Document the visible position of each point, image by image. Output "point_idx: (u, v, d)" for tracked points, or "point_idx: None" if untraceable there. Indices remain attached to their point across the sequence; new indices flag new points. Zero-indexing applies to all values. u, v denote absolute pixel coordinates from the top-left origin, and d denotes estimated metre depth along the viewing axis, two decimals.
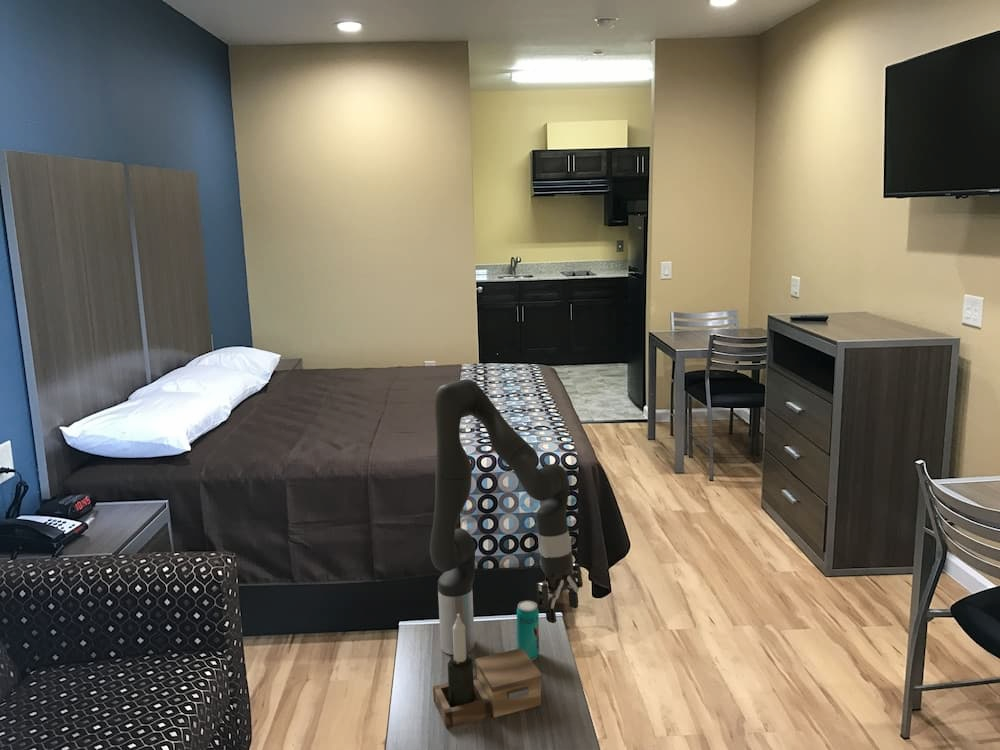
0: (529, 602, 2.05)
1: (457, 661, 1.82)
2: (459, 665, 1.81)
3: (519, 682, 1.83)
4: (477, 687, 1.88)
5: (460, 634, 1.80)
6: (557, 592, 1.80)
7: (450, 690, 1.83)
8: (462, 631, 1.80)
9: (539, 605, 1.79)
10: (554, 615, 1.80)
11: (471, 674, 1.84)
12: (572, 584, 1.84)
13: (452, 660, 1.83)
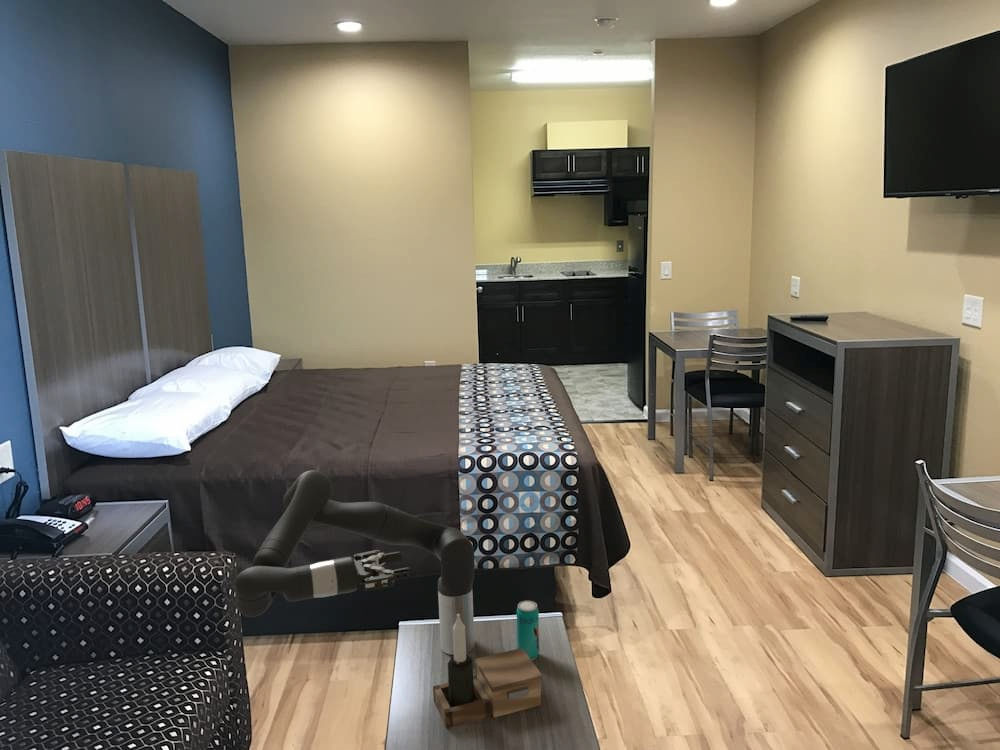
0: (529, 602, 2.05)
1: (457, 661, 1.82)
2: (459, 665, 1.81)
3: (519, 682, 1.83)
4: (477, 687, 1.88)
5: (460, 634, 1.80)
6: None
7: (450, 690, 1.83)
8: (462, 631, 1.80)
9: None
10: None
11: (471, 674, 1.84)
12: None
13: (452, 660, 1.83)
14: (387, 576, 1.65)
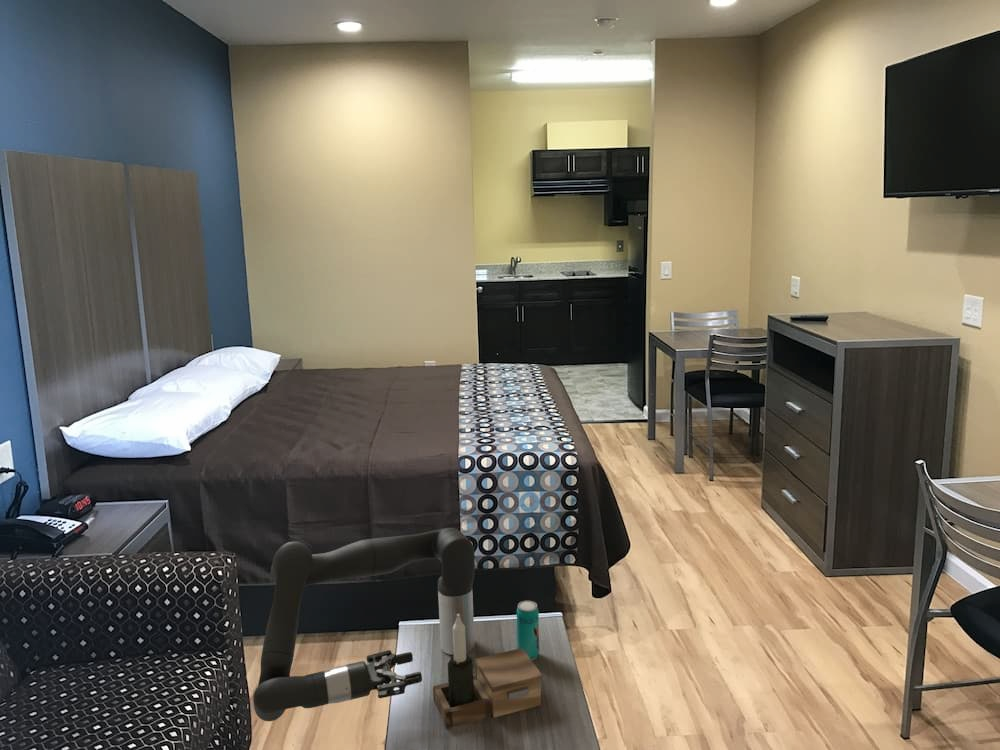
0: (529, 602, 2.05)
1: (457, 661, 1.82)
2: (459, 665, 1.81)
3: (519, 682, 1.83)
4: (477, 687, 1.88)
5: (460, 634, 1.80)
6: None
7: (450, 690, 1.83)
8: (462, 631, 1.80)
9: None
10: None
11: (471, 674, 1.84)
12: None
13: (452, 660, 1.83)
14: (399, 683, 1.71)
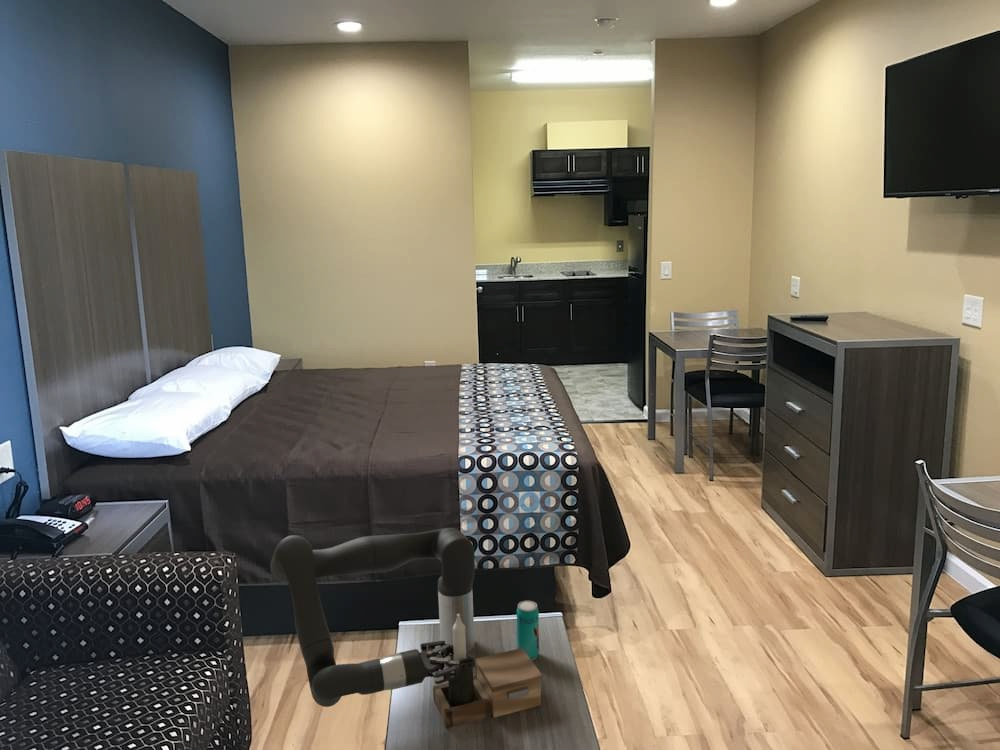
0: (529, 602, 2.05)
1: None
2: None
3: (519, 682, 1.83)
4: (477, 687, 1.88)
5: (460, 634, 1.80)
6: None
7: (450, 690, 1.83)
8: (462, 631, 1.80)
9: None
10: None
11: (471, 674, 1.84)
12: None
13: None
14: (454, 667, 1.77)
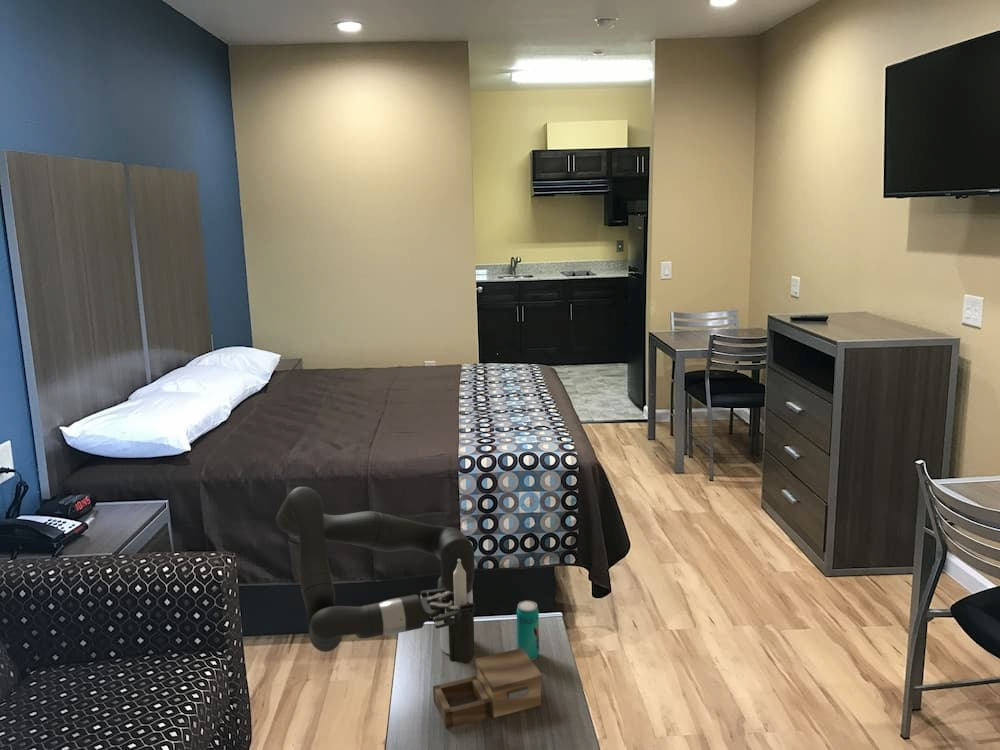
0: (529, 602, 2.05)
1: None
2: None
3: (519, 682, 1.83)
4: (477, 687, 1.88)
5: (460, 579, 1.77)
6: None
7: (450, 637, 1.80)
8: (463, 576, 1.78)
9: None
10: None
11: (472, 621, 1.81)
12: None
13: None
14: (454, 612, 1.74)
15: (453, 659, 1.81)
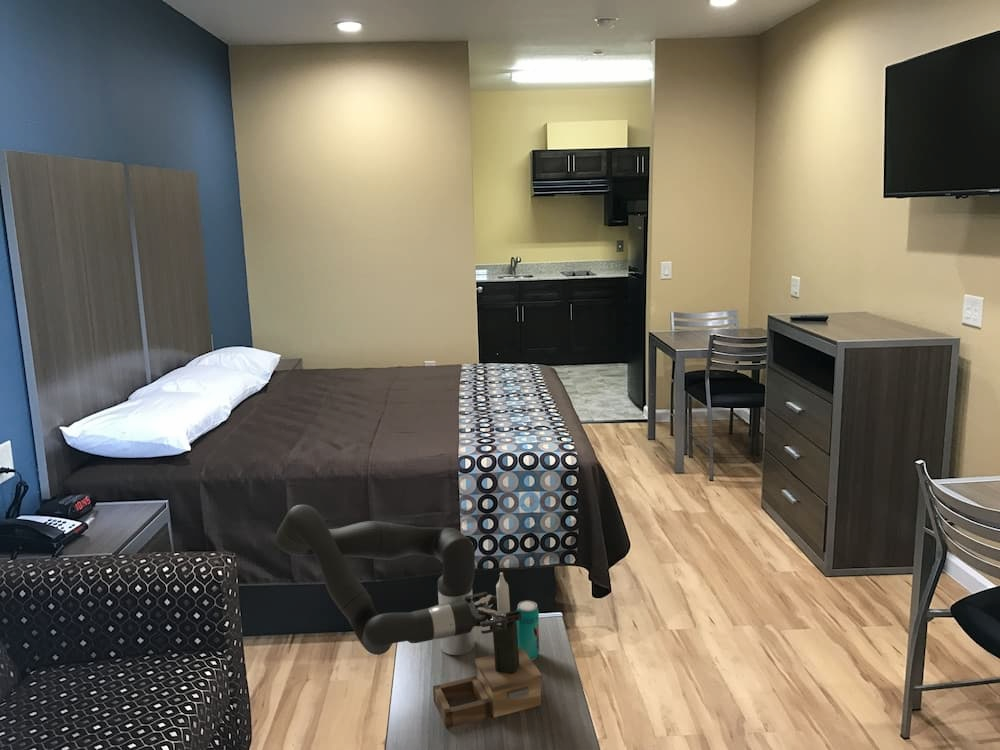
0: (529, 602, 2.05)
1: None
2: None
3: (519, 682, 1.83)
4: (477, 687, 1.88)
5: (503, 592, 1.82)
6: None
7: (495, 648, 1.85)
8: (506, 589, 1.82)
9: None
10: None
11: (515, 632, 1.86)
12: None
13: None
14: (501, 619, 1.77)
15: (499, 669, 1.86)
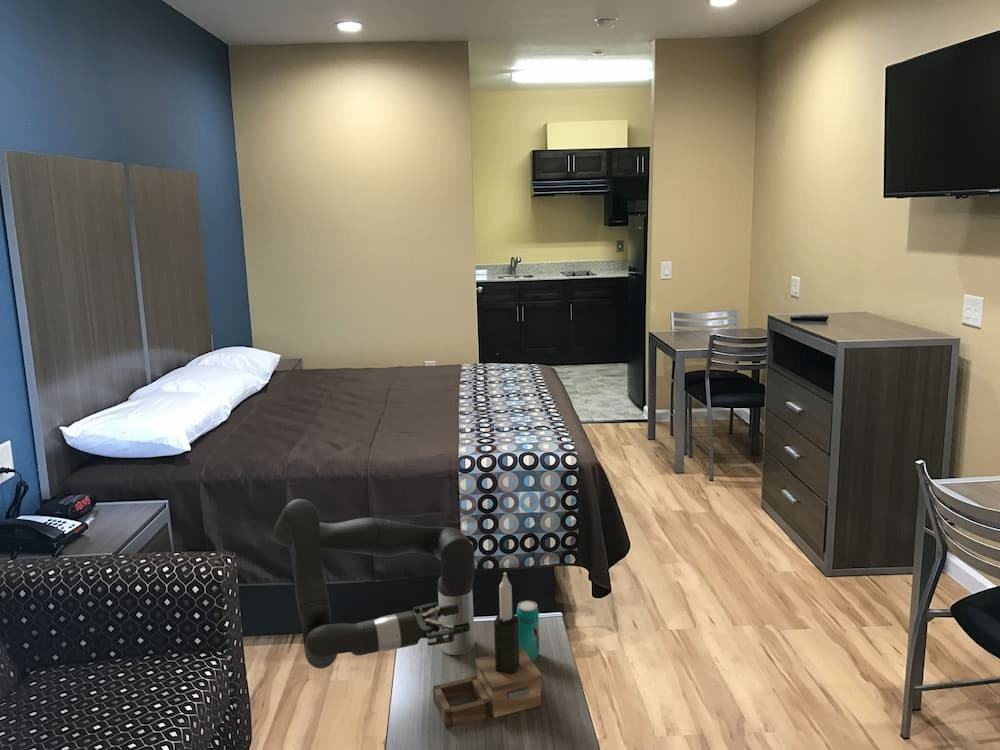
0: (529, 602, 2.05)
1: (503, 619, 1.84)
2: (506, 623, 1.83)
3: (519, 682, 1.83)
4: (477, 687, 1.88)
5: (506, 592, 1.82)
6: None
7: (496, 648, 1.85)
8: (509, 589, 1.82)
9: None
10: None
11: (517, 632, 1.86)
12: None
13: (498, 618, 1.85)
14: (448, 631, 1.73)
15: (499, 669, 1.86)
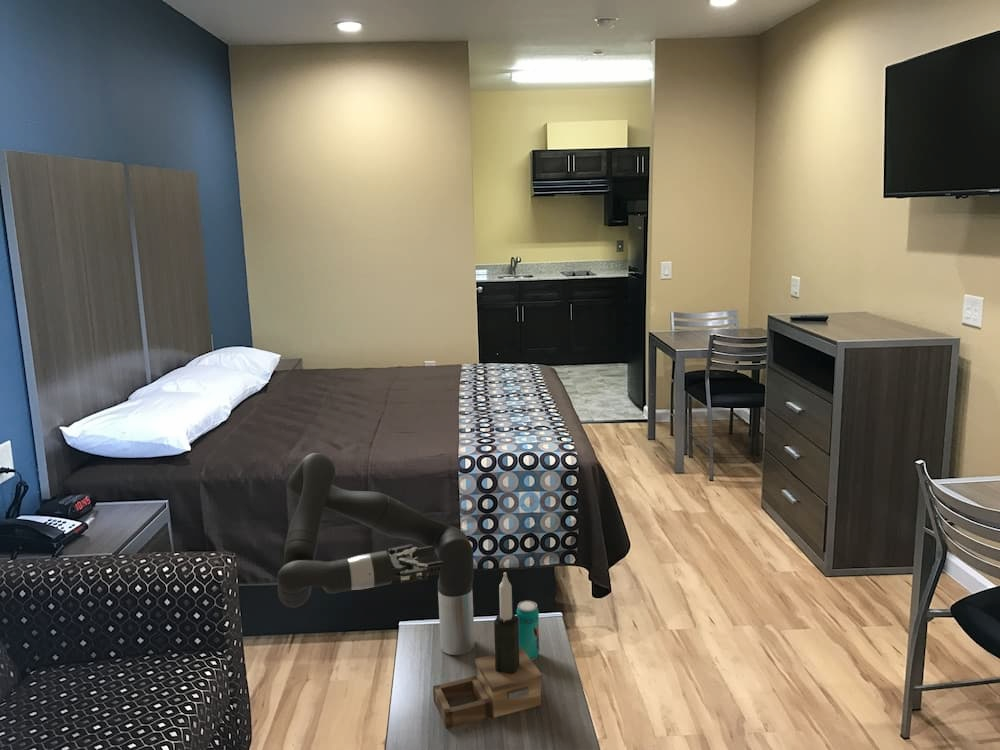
0: (529, 602, 2.05)
1: (503, 619, 1.84)
2: (506, 623, 1.83)
3: (519, 682, 1.83)
4: (477, 687, 1.88)
5: (506, 592, 1.82)
6: None
7: (496, 648, 1.85)
8: (509, 589, 1.83)
9: None
10: None
11: (517, 632, 1.86)
12: None
13: (498, 618, 1.85)
14: (422, 569, 1.72)
15: (499, 669, 1.86)
